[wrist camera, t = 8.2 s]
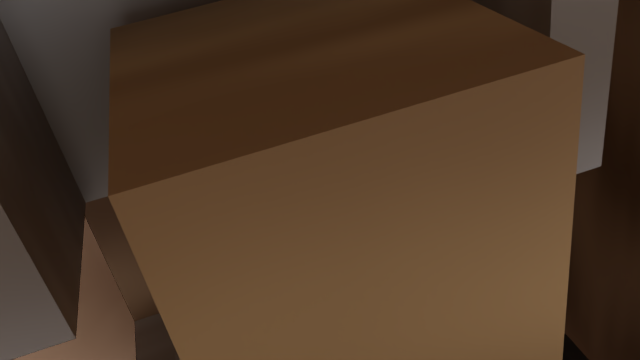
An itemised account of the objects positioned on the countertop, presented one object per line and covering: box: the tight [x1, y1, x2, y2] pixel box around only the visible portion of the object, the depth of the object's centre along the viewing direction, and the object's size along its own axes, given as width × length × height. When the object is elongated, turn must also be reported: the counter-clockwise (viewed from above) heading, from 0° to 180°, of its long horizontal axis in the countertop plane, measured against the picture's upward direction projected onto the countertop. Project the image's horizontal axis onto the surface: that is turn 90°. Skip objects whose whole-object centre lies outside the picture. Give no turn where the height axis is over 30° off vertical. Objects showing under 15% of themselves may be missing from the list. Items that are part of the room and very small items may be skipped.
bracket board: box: [0, 0, 640, 360], centre depth 14 cm, size 18×14×8 cm
